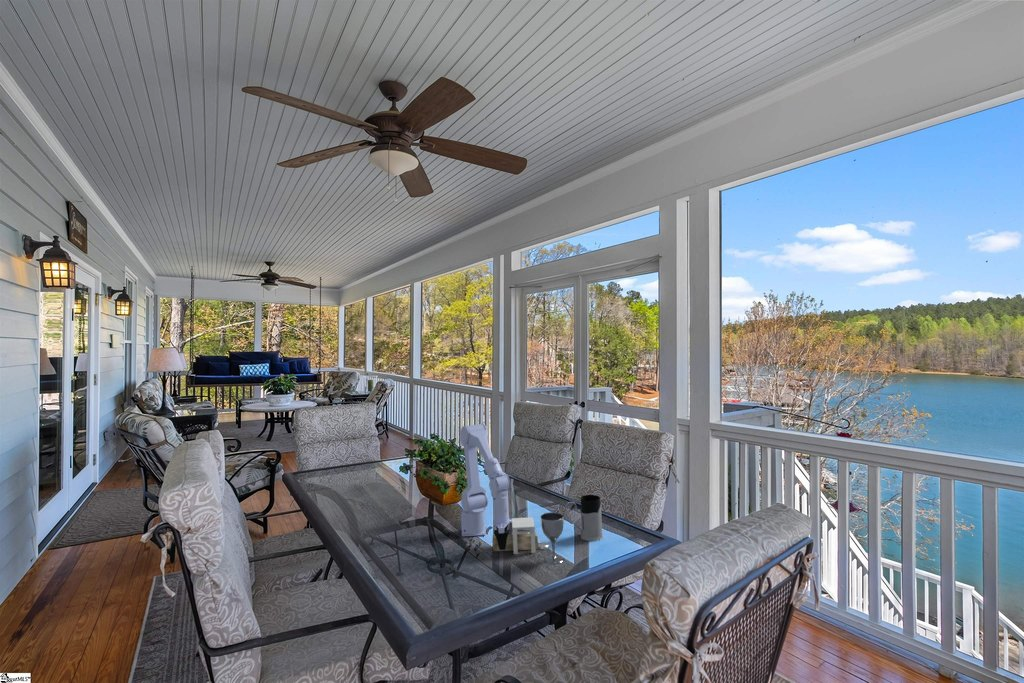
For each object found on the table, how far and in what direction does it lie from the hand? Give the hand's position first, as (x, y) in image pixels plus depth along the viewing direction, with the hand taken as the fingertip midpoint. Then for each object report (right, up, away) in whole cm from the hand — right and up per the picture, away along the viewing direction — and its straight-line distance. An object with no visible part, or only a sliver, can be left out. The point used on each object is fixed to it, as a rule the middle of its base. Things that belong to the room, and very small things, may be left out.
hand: (502, 545), depth 173 cm
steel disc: (+15, -1, 0) cm, 15 cm away
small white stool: (+8, -1, 0) cm, 8 cm away
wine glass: (+18, -1, -10) cm, 21 cm away
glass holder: (+32, 0, +8) cm, 33 cm away
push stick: (+5, -1, 0) cm, 5 cm away
